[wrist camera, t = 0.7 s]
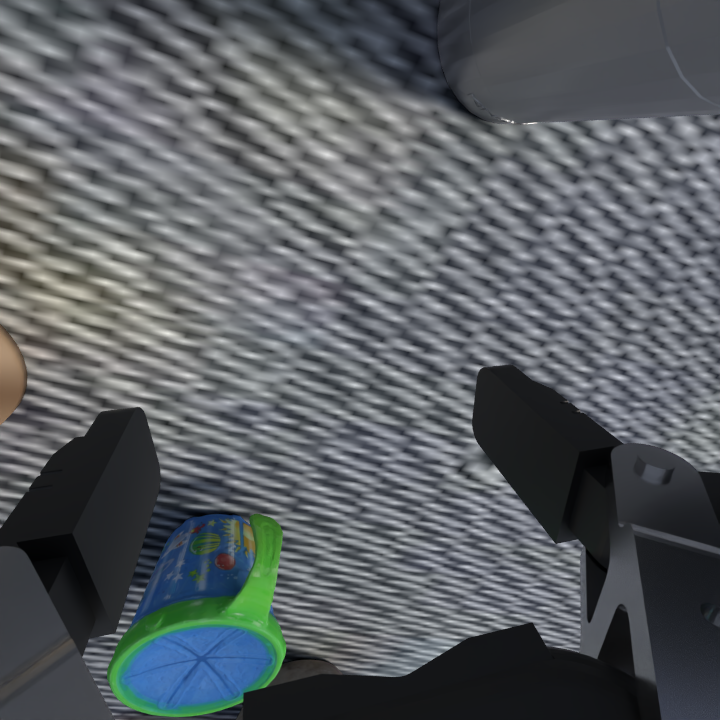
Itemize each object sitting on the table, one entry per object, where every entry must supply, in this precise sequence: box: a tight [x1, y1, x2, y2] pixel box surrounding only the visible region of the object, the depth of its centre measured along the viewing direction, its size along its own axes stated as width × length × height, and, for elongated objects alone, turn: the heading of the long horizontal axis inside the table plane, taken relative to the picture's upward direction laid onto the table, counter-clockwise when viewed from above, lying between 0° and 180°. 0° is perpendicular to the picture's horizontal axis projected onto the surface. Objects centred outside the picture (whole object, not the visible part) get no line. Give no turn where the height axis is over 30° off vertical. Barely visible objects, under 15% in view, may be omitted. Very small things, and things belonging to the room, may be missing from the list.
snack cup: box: [107, 514, 286, 717], centre depth 31 cm, size 16×10×10 cm
